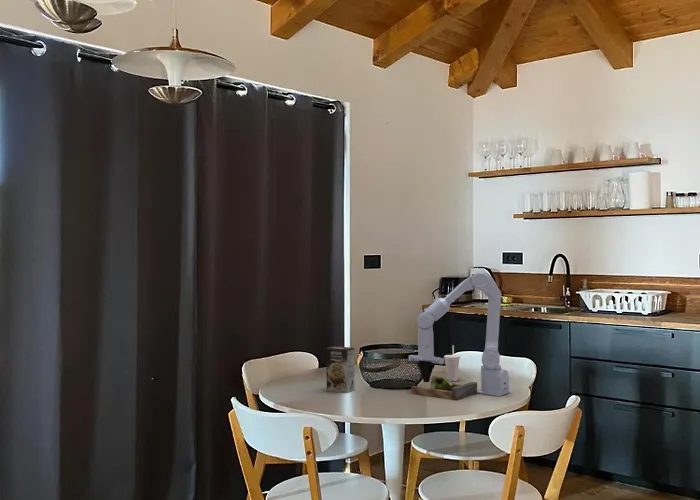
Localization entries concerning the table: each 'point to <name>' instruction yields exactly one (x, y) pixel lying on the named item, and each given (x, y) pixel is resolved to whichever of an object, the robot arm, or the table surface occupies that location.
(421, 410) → the table surface
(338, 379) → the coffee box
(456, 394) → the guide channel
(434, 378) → the fruit
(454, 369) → the smoothie
